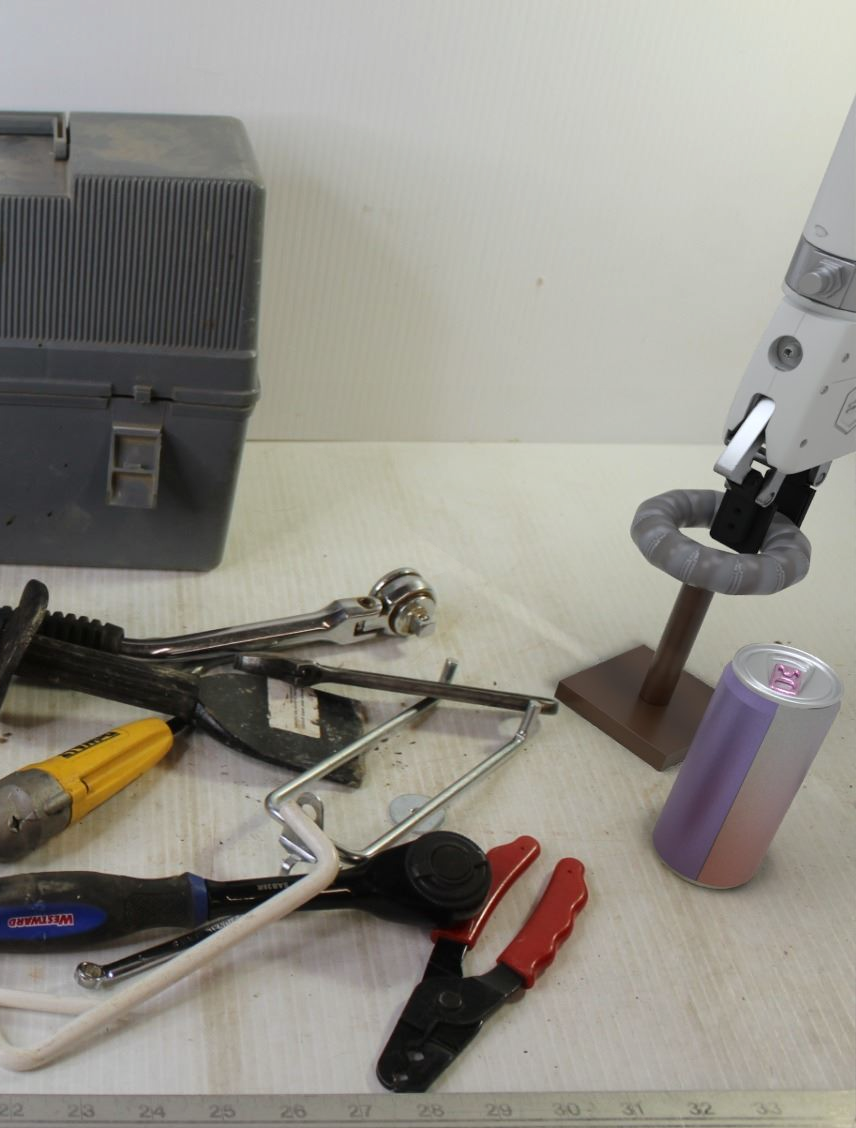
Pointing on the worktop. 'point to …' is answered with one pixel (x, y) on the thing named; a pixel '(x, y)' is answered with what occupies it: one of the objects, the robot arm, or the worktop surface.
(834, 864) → the worktop surface
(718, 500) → the ring
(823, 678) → the beverage can
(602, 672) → the stand
